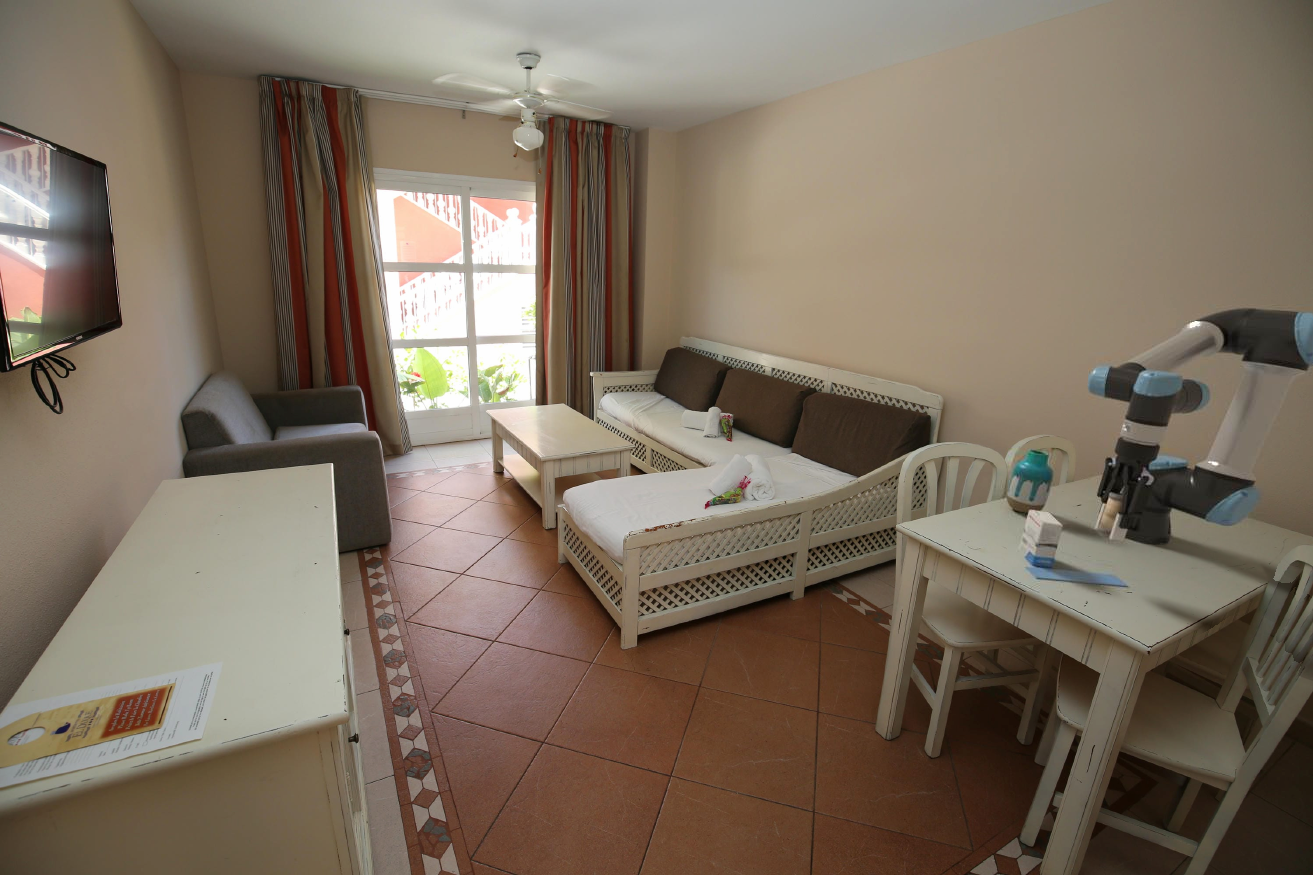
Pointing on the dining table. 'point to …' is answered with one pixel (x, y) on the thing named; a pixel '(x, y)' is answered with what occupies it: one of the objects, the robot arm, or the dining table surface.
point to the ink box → (1040, 538)
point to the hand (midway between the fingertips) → (1108, 534)
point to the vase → (1030, 482)
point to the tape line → (1076, 576)
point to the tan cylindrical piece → (1110, 513)
